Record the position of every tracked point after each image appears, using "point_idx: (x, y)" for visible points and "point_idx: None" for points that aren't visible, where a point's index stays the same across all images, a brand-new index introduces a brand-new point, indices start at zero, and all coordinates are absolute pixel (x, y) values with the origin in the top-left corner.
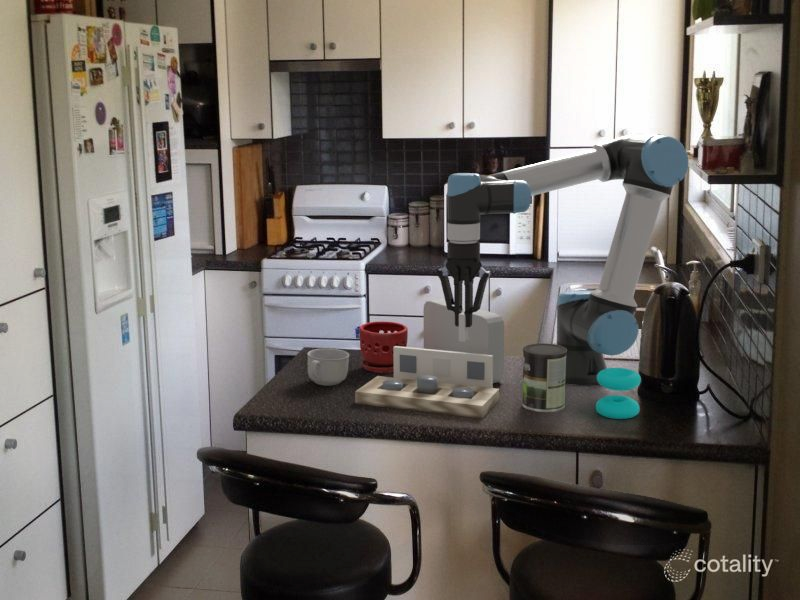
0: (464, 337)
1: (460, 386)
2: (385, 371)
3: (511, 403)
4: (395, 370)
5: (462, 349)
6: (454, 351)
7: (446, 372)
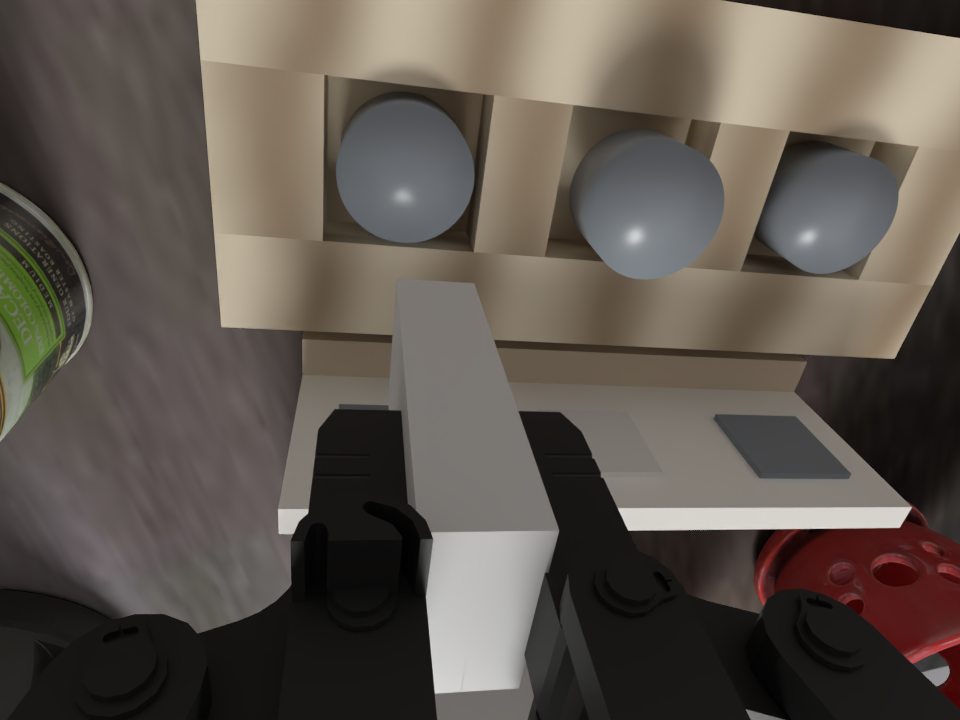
0: (402, 299)
1: None
2: None
3: (152, 271)
4: (816, 422)
5: None
6: None
7: None
